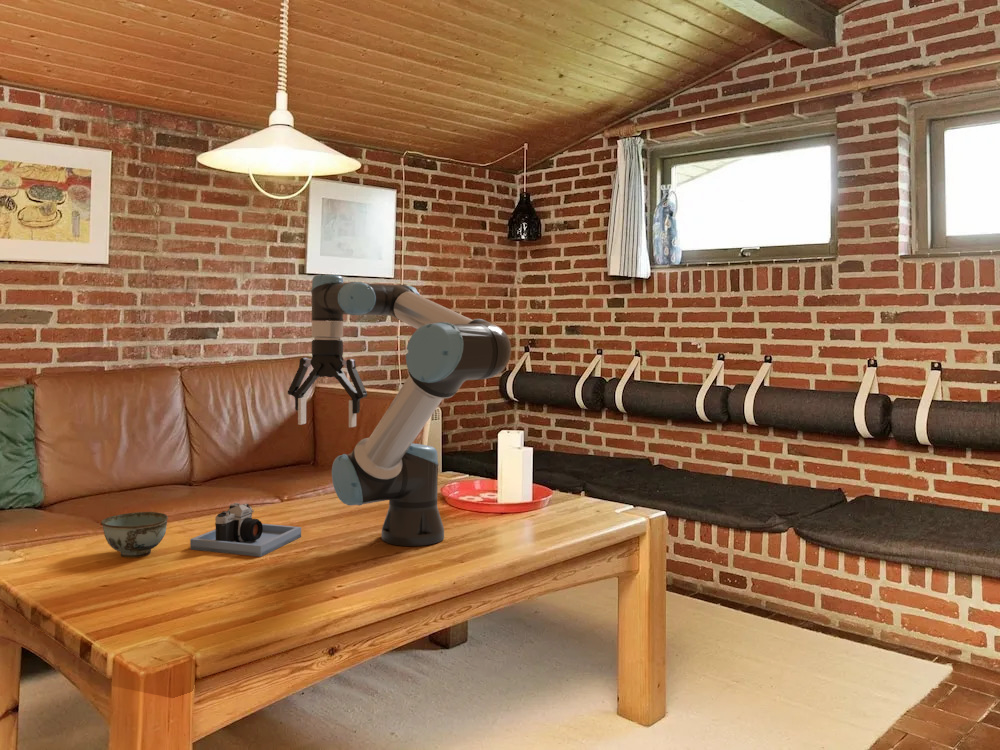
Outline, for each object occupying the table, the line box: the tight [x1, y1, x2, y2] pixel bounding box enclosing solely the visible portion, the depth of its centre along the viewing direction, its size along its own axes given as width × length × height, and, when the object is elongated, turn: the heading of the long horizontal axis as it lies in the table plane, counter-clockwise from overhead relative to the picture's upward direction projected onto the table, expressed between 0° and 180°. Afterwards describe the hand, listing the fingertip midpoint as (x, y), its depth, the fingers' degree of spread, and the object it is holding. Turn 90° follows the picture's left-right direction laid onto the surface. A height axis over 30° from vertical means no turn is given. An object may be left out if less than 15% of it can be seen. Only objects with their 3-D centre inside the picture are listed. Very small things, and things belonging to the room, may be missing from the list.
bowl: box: [100, 511, 169, 559], centre depth 183 cm, size 14×13×8 cm
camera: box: [214, 502, 263, 542], centre depth 193 cm, size 13×8×9 cm, turn 168°
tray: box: [189, 523, 302, 558], centre depth 194 cm, size 18×18×2 cm
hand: (327, 425), depth 203 cm, fingers open, 13 cm apart
